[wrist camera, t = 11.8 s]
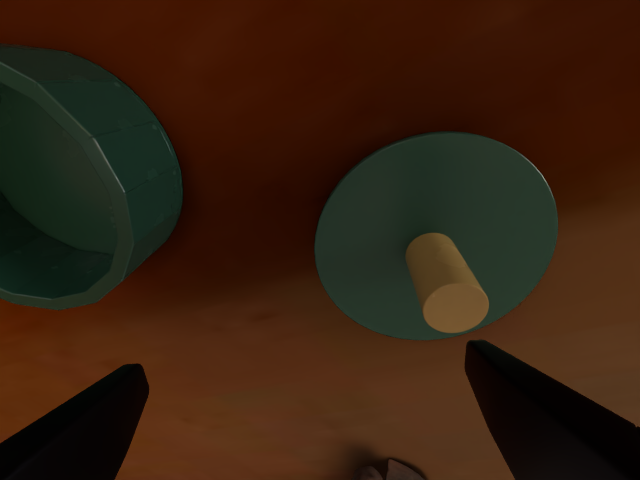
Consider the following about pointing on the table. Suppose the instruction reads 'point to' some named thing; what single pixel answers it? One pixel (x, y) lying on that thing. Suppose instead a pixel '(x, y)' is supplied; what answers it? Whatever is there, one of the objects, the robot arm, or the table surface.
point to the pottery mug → (397, 474)
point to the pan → (77, 179)
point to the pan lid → (435, 235)
